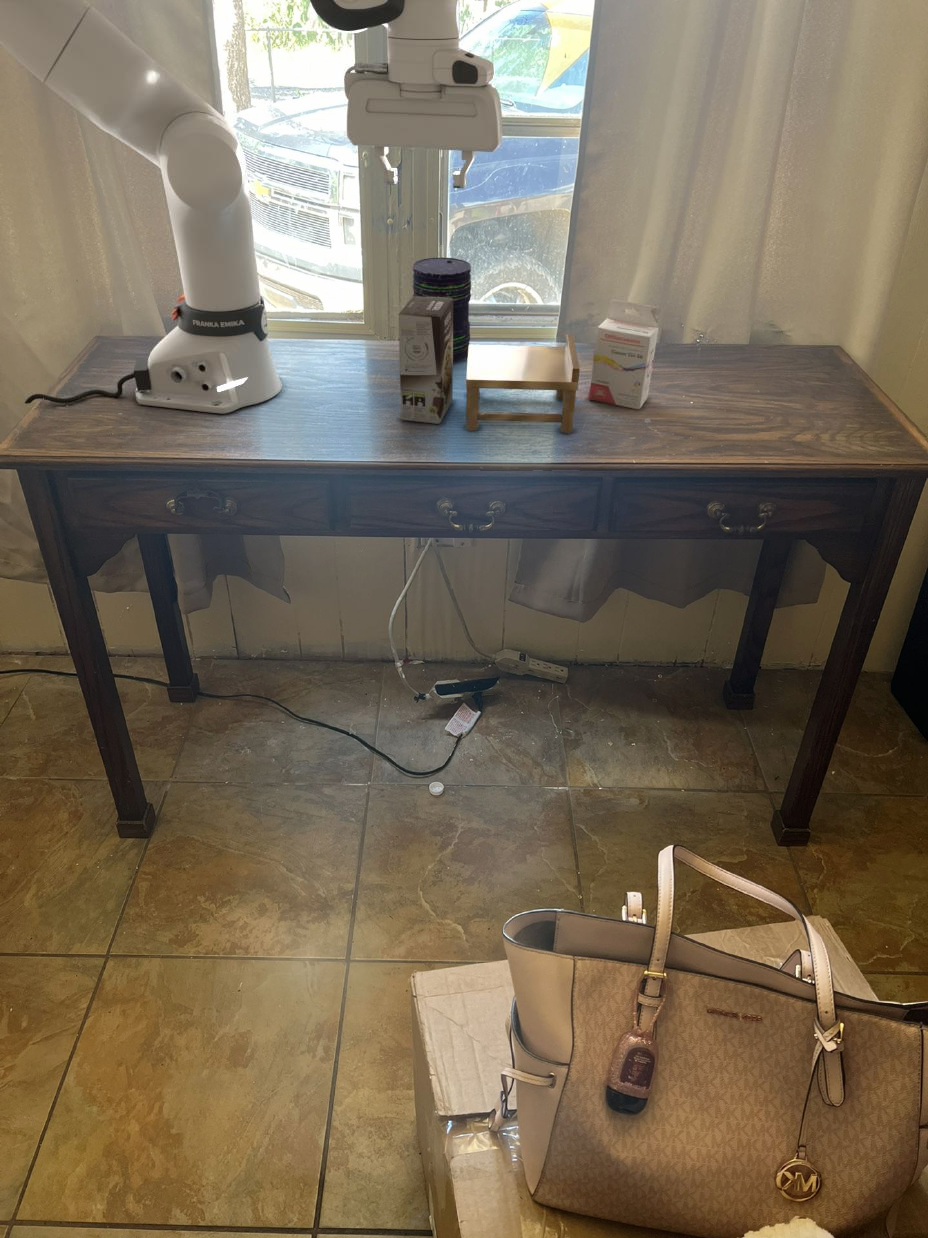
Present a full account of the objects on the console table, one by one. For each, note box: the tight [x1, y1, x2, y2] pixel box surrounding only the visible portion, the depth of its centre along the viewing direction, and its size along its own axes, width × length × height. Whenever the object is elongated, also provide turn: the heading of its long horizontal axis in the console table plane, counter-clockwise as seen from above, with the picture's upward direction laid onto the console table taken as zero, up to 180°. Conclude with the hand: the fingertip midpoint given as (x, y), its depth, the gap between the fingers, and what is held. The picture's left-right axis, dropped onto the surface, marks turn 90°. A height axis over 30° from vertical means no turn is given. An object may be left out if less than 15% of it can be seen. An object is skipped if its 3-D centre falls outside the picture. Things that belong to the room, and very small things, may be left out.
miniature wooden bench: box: [465, 333, 581, 434], centre depth 133 cm, size 16×14×10 cm
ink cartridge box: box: [588, 298, 661, 410], centre depth 137 cm, size 9×5×15 cm, turn 65°
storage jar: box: [412, 256, 472, 364], centre depth 151 cm, size 10×10×15 cm
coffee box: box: [398, 295, 454, 425], centre depth 132 cm, size 9×6×16 cm
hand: (424, 185), depth 119 cm, fingers open, 8 cm apart
